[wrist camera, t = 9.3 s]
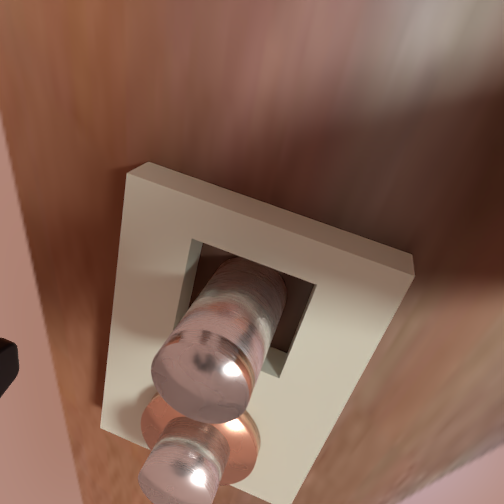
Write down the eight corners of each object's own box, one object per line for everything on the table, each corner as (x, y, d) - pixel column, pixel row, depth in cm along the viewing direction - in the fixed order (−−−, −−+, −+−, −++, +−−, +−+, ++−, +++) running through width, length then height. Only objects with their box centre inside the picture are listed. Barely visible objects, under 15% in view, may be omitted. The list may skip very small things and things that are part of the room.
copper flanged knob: (275, 413, 23) (255, 480, 19) (244, 485, 26) (223, 554, 23) (157, 364, 24) (118, 421, 20) (142, 441, 27) (107, 500, 24)
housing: (412, 254, 19) (415, 276, 17) (293, 481, 28) (287, 510, 26) (148, 161, 20) (126, 173, 19) (116, 405, 29) (100, 427, 28)
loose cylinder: (297, 272, 21) (261, 368, 15) (274, 332, 23) (235, 437, 17) (222, 245, 21) (158, 326, 15) (207, 305, 23) (145, 398, 17)
